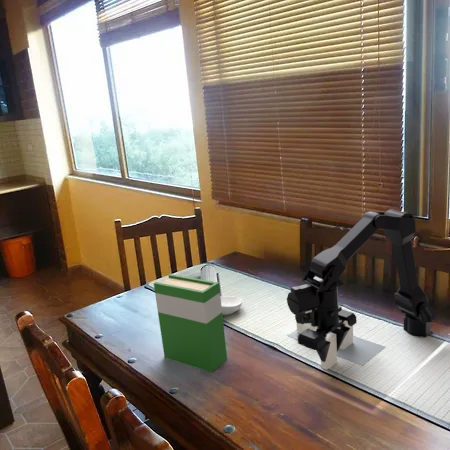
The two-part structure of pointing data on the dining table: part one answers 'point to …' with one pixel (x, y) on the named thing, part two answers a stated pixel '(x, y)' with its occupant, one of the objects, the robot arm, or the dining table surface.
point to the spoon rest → (230, 304)
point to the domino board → (355, 349)
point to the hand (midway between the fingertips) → (329, 356)
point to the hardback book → (191, 321)
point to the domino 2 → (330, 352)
